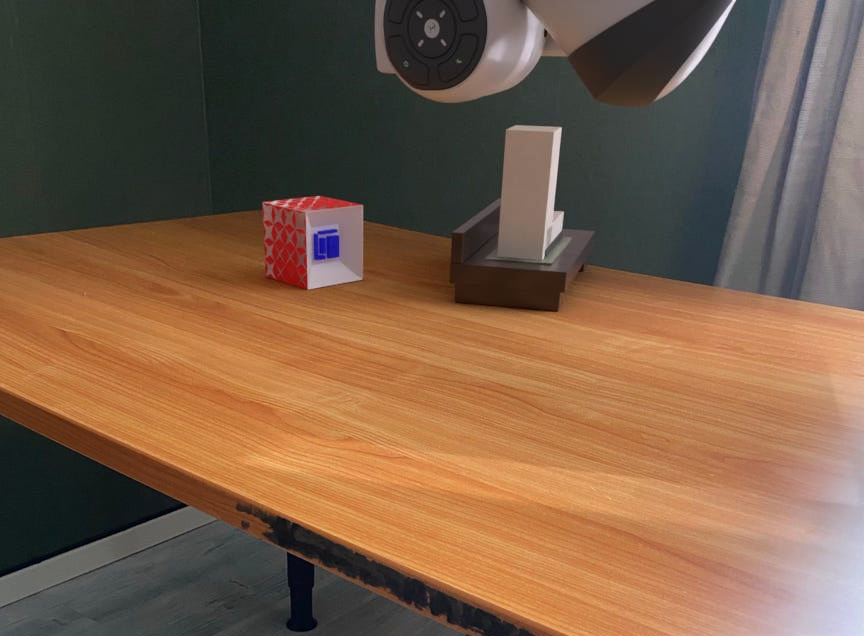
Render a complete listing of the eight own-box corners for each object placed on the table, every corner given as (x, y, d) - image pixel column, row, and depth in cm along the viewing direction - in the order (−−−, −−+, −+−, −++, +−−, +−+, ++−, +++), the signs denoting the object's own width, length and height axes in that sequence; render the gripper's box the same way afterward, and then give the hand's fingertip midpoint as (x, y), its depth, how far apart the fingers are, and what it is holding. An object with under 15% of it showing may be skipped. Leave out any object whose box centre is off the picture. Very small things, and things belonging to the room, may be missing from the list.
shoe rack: (591, 266, 121) (598, 203, 117) (562, 313, 101) (570, 240, 98) (494, 258, 124) (498, 197, 120) (448, 303, 104) (451, 232, 101)
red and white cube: (320, 267, 118) (319, 195, 114) (363, 279, 113) (363, 204, 109) (265, 277, 113) (261, 202, 109) (307, 289, 108) (304, 212, 104)
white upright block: (543, 260, 103) (555, 131, 97) (495, 257, 104) (504, 129, 98) (562, 237, 114) (574, 120, 108) (519, 234, 115) (528, 118, 109)
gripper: (634, -24, 70) (649, -17, 81) (357, -25, 74) (408, -19, 86) (621, 80, 73) (638, 72, 84) (357, 71, 78) (406, 65, 89)
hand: (520, 26), depth 85 cm, fingers open, 8 cm apart
